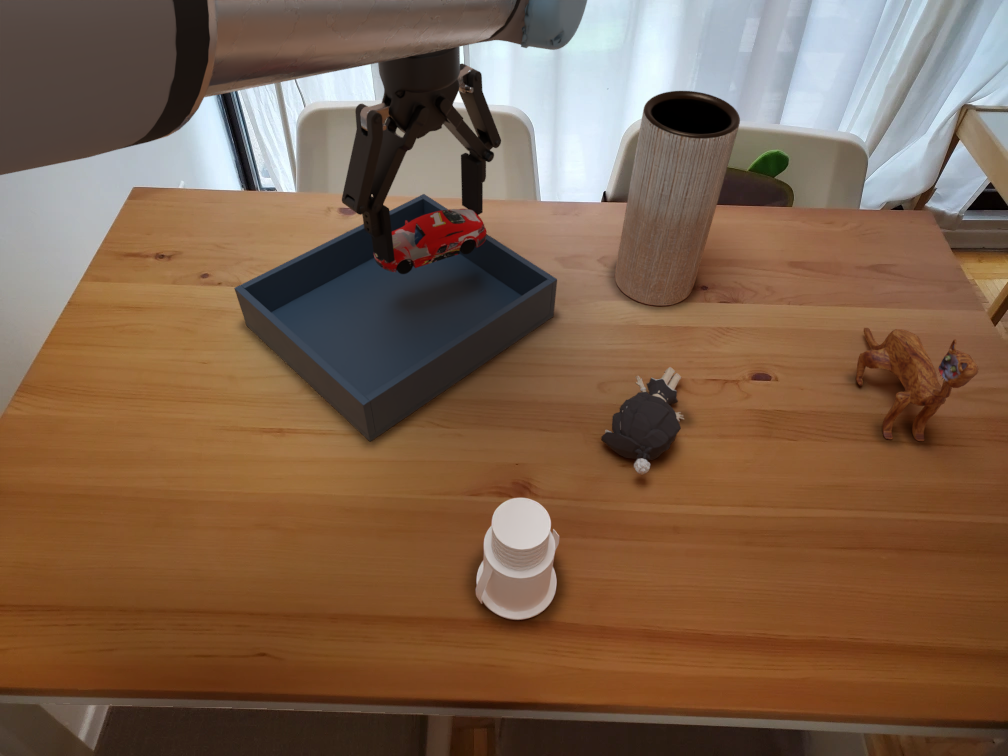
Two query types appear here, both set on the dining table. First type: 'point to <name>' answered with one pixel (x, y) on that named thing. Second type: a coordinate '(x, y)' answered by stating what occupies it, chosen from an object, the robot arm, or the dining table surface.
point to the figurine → (646, 422)
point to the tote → (393, 319)
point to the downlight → (518, 561)
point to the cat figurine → (915, 375)
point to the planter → (673, 194)
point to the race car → (434, 239)
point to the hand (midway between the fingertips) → (429, 231)
